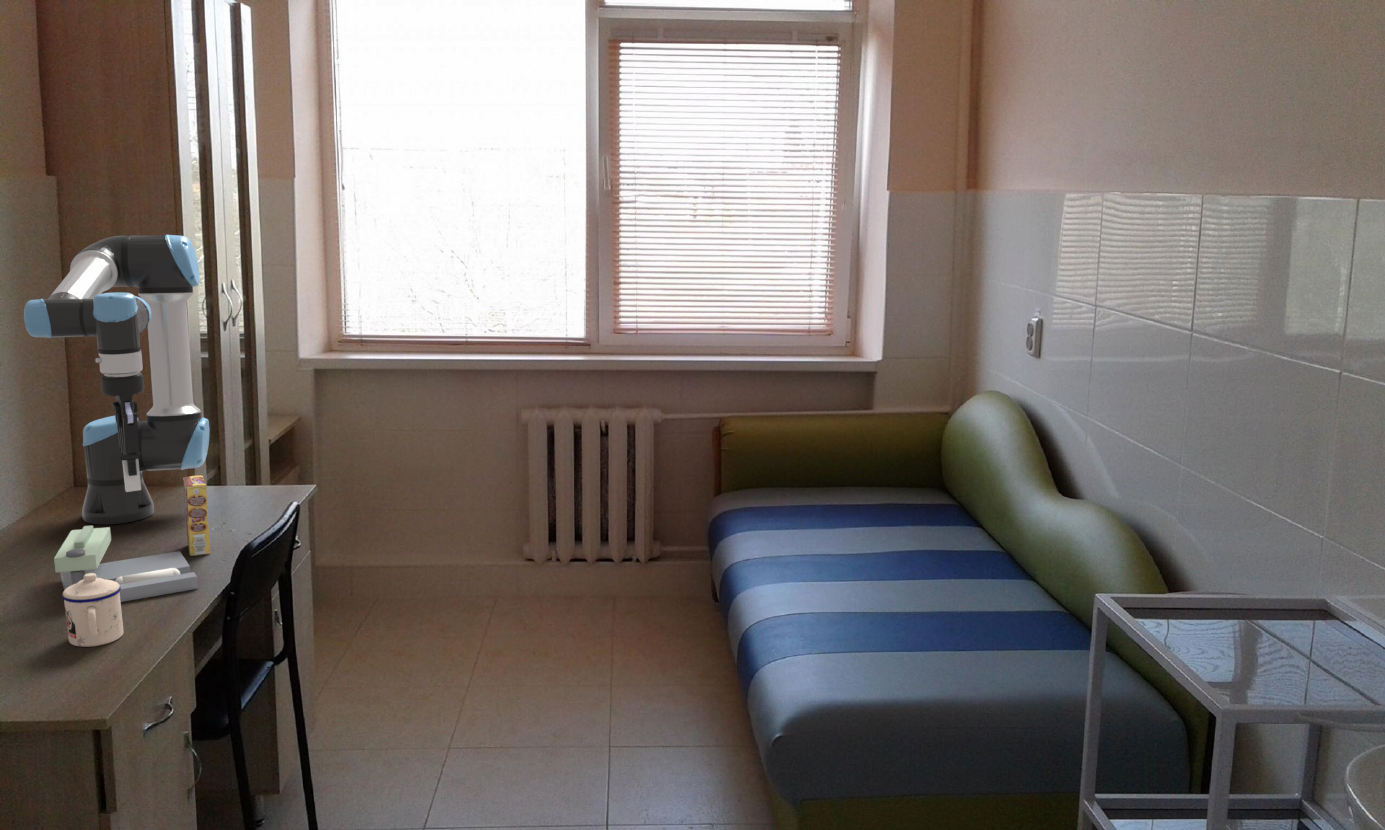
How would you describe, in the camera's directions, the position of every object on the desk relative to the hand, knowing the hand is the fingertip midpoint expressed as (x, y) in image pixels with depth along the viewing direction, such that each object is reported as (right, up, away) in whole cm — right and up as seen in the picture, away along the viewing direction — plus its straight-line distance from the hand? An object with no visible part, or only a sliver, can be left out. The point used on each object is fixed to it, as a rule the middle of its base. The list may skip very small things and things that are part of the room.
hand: (133, 489), depth 238 cm
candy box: (+6, -14, +19) cm, 24 cm away
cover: (-7, -13, -5) cm, 15 cm away
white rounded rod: (+5, -17, -5) cm, 18 cm away
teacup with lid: (+8, -24, -30) cm, 40 cm away
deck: (+1, -18, -3) cm, 19 cm away
